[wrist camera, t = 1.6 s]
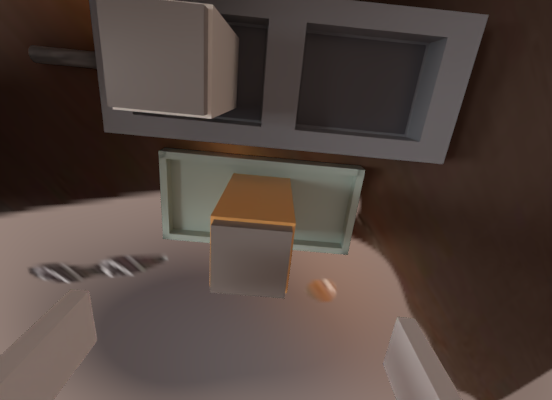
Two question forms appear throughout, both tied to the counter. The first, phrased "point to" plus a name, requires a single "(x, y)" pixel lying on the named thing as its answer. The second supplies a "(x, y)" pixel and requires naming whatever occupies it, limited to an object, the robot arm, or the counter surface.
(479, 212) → the counter surface
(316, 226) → the tray
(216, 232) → the orange plug
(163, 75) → the cream plug
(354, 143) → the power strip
